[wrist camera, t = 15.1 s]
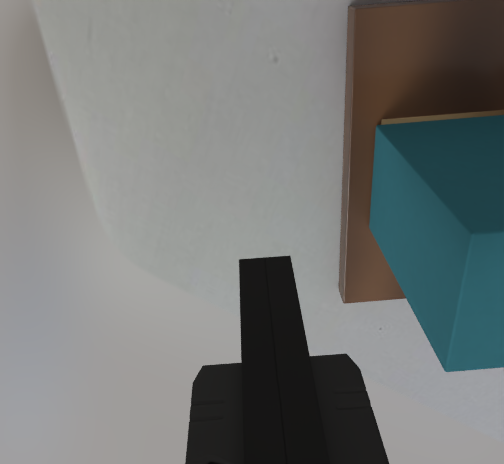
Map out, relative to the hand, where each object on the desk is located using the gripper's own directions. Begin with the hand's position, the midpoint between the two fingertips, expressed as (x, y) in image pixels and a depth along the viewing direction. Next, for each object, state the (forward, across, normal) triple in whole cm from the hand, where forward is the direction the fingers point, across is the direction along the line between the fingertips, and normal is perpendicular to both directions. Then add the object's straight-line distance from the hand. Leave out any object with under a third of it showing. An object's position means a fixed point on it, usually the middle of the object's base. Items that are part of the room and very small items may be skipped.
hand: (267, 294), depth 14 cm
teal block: (+8, +9, 0) cm, 12 cm away
